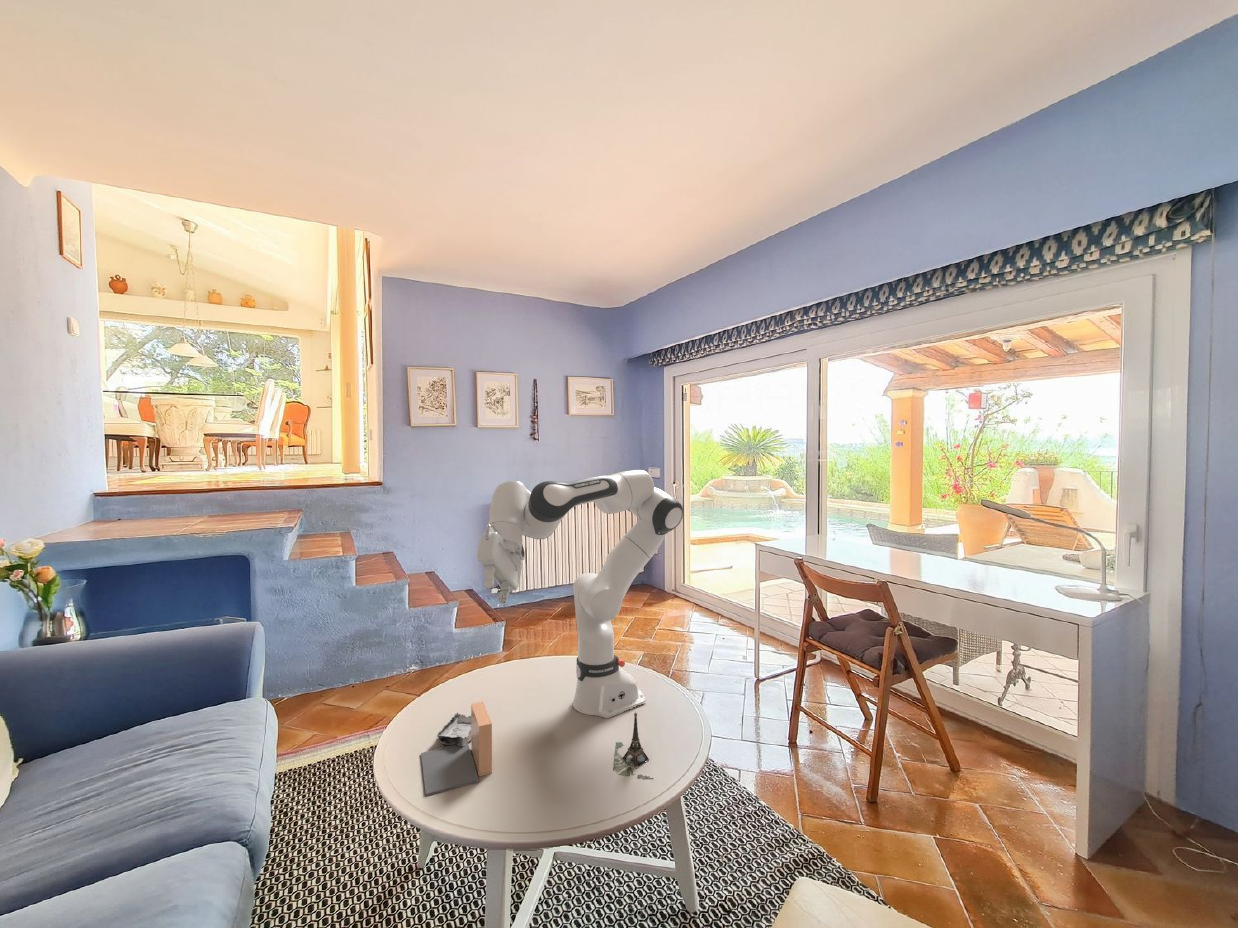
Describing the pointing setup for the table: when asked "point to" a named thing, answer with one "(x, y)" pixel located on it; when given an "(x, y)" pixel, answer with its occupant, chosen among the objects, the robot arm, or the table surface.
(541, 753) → the table surface
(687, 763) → the table surface
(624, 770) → the eiffel tower figurine
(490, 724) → the orange block
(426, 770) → the mat
